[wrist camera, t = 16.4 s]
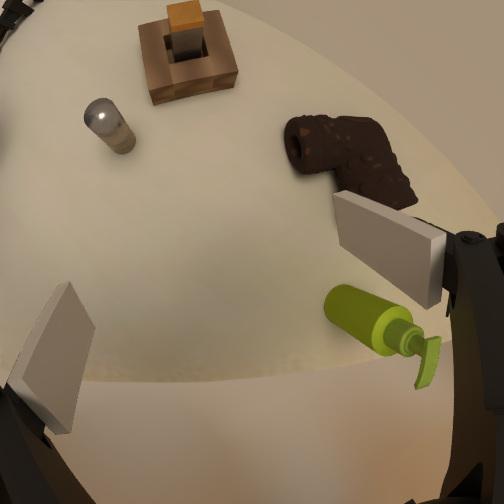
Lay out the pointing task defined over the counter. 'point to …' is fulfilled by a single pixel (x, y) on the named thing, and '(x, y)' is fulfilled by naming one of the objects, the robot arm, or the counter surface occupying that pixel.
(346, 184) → the pipe
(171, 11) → the square bit
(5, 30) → the adjustable wrench
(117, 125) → the cylinder
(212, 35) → the socket block
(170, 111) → the counter surface
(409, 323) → the soap dispenser
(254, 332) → the counter surface
